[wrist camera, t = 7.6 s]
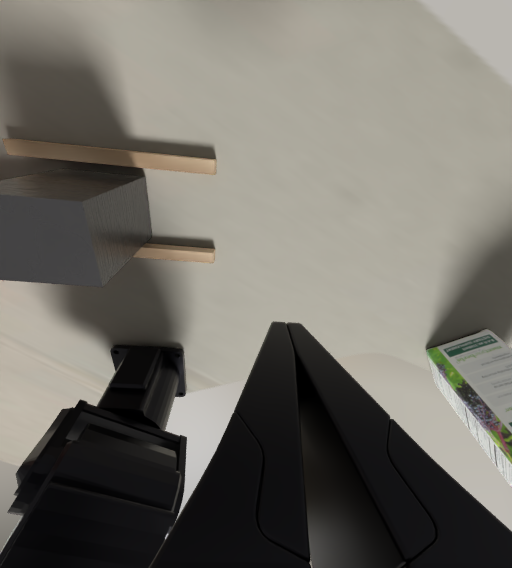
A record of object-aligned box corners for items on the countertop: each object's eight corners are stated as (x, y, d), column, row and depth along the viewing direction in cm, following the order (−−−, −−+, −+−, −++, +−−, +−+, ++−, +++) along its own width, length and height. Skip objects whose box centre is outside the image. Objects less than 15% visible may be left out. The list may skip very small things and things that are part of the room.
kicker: (155, 261, 19) (110, 320, 13) (-28, 247, 18) (-164, 302, 12) (141, 140, 15) (68, 144, 9) (-94, 116, 14) (-342, 103, 8)
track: (215, 258, 19) (213, 263, 19) (49, 245, 19) (41, 249, 18) (216, 159, 16) (214, 160, 15) (13, 138, 15) (2, 138, 14)
